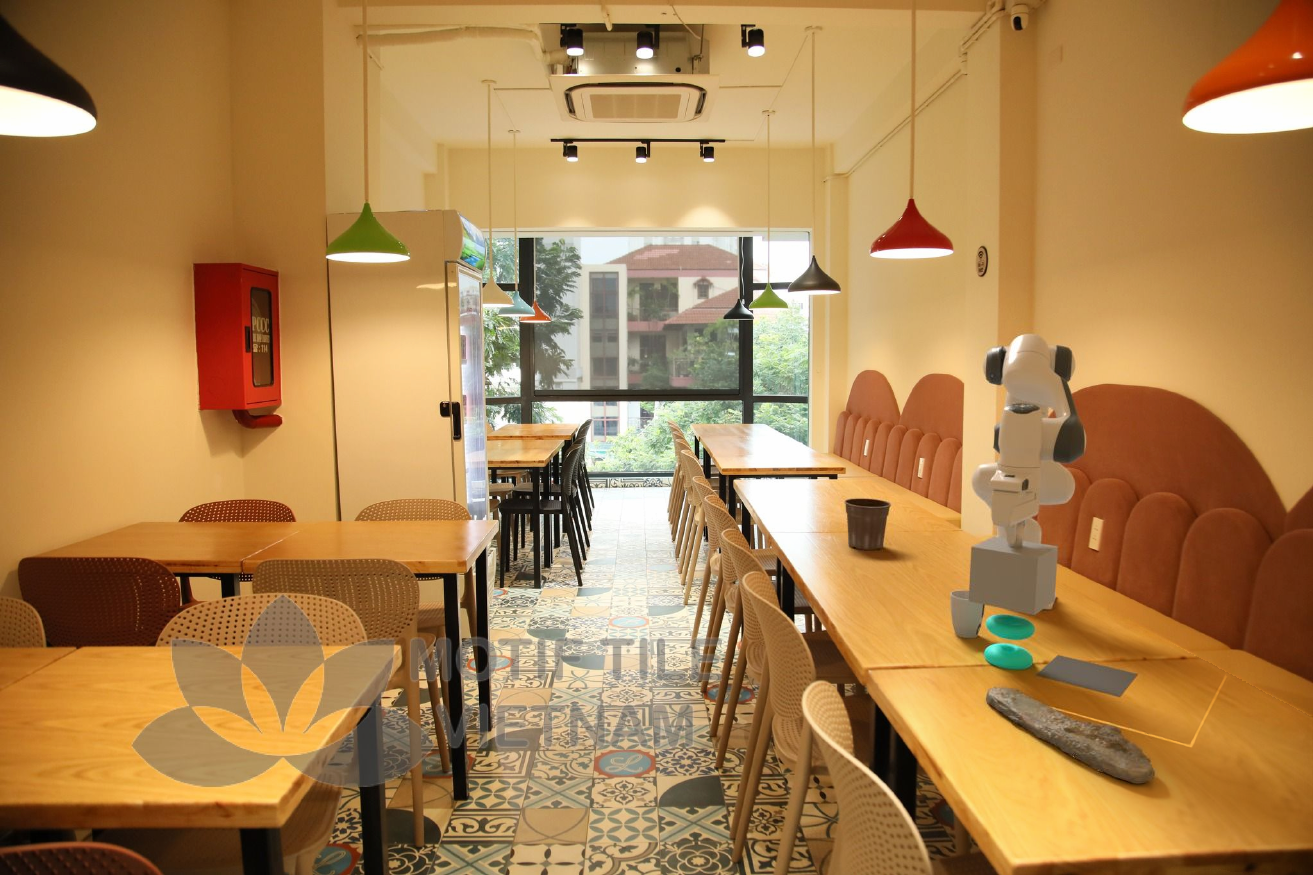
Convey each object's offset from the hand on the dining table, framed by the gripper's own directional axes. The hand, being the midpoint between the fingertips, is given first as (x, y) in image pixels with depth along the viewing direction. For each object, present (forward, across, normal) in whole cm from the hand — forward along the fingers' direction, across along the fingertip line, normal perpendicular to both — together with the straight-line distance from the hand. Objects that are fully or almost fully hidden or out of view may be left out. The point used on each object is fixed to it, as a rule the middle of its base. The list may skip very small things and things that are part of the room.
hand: (1014, 540), depth 176 cm
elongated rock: (+28, +30, +19) cm, 45 cm away
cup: (+28, -12, -14) cm, 34 cm away
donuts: (+28, 0, 0) cm, 28 cm away
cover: (+14, 0, 0) cm, 14 cm away
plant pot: (+28, -79, -76) cm, 113 cm away
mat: (+28, -4, +15) cm, 32 cm away
